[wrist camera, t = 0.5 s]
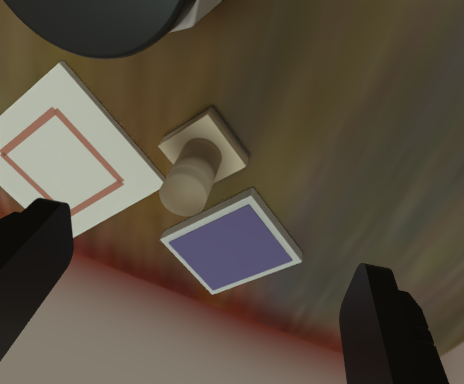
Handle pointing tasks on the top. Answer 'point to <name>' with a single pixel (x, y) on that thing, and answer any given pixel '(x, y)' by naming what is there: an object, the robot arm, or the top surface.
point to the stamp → (199, 161)
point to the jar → (108, 23)
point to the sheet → (71, 152)
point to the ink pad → (232, 243)
